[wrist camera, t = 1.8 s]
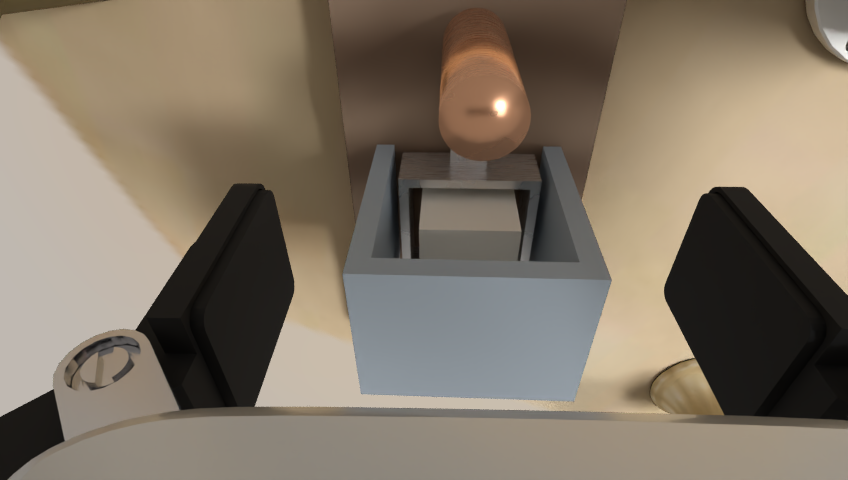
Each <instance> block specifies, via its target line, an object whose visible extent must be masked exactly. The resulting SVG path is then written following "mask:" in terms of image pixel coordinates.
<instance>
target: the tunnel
mask: <svg viewBox="0 0 848 480" xmlns="http://www.w3.org/2000/svg"><path fill="white" fill-rule="evenodd" d="M539 173H540V177H541V180H542V184H541V190H540V196H539V202H538V208H537V215H536V221H535V227H534V233H533V239H532V245H531V252H530V258H529V261H490V260H444V259H400V238H399V220H398V201H397V183H396V164H395V145H377V147H376V150H375V154H374V158H373V162H372V165H371V169H370V173H369V176H368V180H367V184H366V188H365V191H364V195H363V199H362V203H361V206H360V210H359V214H358V218H357V221H356V225H355V229H354V232H353V236H352V240H351V244H350V247H349V251H348V255H347V259H346V262H345V266H344V270H343V281H344V287H345V294H346V300H347V306H348V313H349V319H350V326H351V332H352V339H353V345H354V351H355V358H356V365H357V371H358V377H359V383H360V390H361V394H374V395H375V394H376V395H403V396H432V397H461V398H491V399H492V398H493V399H519V400H547V401H574V400H575V396H576V393H577V390H578V387H579V384H580V380H581V377H582V374H583V371H584V367H585V364H586V361H587V358H588V355H589V351H590V348H591V345H592V342H593V339H594V335H595V332H596V329H597V326H598V323H599V319H600V316H601V313H602V310H603V307H604V303H605V300H606V297H607V294H608V290H609V287H610V284H611V281H612V280H611V277H610V274H609V272H608V269H607V266H606V264H605V261H604V258H603V256H602V253H601V251H600V248H599V245H598V243H597V240H596V237H595V235H594V232H593V230H592V227H591V224H590V222H589V219H588V216H587V214H586V211H585V208H584V206H583V203H582V201H581V198H580V195H579V193H578V190H577V187H576V185H575V182H574V180H573V177H572V174H571V172H570V169H569V166H568V164H567V161H566V159H565V156H564V153H563V151H562V148H561V147H544V146H543V150H542V156H541V163H540V169H539Z"/></svg>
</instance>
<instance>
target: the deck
mask: <svg viewBox="0 0 848 480" xmlns="http://www.w3.org/2000/svg"><path fill="white" fill-rule="evenodd" d="M328 2H329V11H330V19H331V27H332V35H333V43H334V51H335V60H336V68H337V76H338V84H339V92H340V101H341V109H342V117H343V125H344V133H345V142H346V150H347V158H348V166H349V174H350V183H351V191H352V199H353V207H354V215H355V223H356V221H357V218H358V214H359V210H360V206H361V203H362V199H363V195H364V191H365V188H366V184H367V180H368V176H369V173H370V169H371V165H372V162H373V158H374V154H375V150H376V147H377V145H395V164H396V183H397V201H398V220H399V238H400V259H402V242H401V223H400V203H399V183H398V178H399V172H400V167H401V161H402V155H403V152H437V153H450V151H451V149H450V148H449V147H448V146H447V144H446V143H445V141H444V140H443V138H442V135H441V133H440V129H439V102H440V84H441V66H442V48H443V36H444V32H445V29H446V27H447V25H448V24H449V22H450V21H451V20H452V18H453V17H454V16H456V15H457V14H458V13H460V12H462V11H463V10H466V9H470V8H484V9H487V10H490V11H491V12H493V13H494V14H496V15H497V16H498V17H499V18H500V19H501V21H502V22H503V24H504V26H505V29H506V32H507V35H508V38H509V41H510V45H511V48H512V51H513V54H514V57H515V60H516V64H517V67H518V70H519V73H520V76H521V79H522V83H523V86H524V89H525V92H526V95H527V98H528V102H529V105H530V110H531V122H530V126H529V129H528V132H527V134H526V136H525V138H524V139H523V141H522V142H521V143H520V145H519V146H518V147H517V148H516V149H514V150H513V151H512V152H510V153H518V154H534V155H535V159H536V162H537V166H538V169H540V163H541V156H542V150H543V146H544V147H561V148H562V151H563V153H564V156H565V159H566V161H567V164H568V166H569V169H570V172H571V174H572V177H573V180H574V182H575V185H576V187H577V190H578V193H579V195H580V198H581V200H582V195H583V191H584V187H585V182H586V178H587V173H588V169H589V165H590V160H591V156H592V151H593V147H594V143H595V138H596V134H597V129H598V125H599V121H600V116H601V112H602V107H603V103H604V99H605V94H606V90H607V85H608V81H609V77H610V72H611V68H612V63H613V59H614V55H615V50H616V46H617V41H618V37H619V33H620V28H621V24H622V19H623V15H624V11H625V6H626V2H627V0H328ZM422 190H423V188H413V211H414V245H415V247H419V222H420V212H421V201H422ZM514 193H515V199H516V204H517V210H518V204H519V196H520V189H514Z"/></svg>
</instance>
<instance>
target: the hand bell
mask: <svg viewBox="0 0 848 480" xmlns="http://www.w3.org/2000/svg"><path fill="white" fill-rule="evenodd" d="M650 396H651V398H652V400H653V402H654V403H655V404H656V405H657V406H658V407H659V408H660V409H662V410H663V411H665V412H667V413H670V414H694V415H724V413H723V411H722V409H721V408H720V406H719V404H718V402H717V400H716V398H715V396H714V394H713V392H712V390H711V388H710V386H709V384H708V382H707V380H706V378H705V376H704V374H703V372H702V370H701V368H700V366H699V364H698V363H697V361H696V359H692V360H688V361H684V362H682V363H679V364H677V365H675V366H673V367H671V368H669V369H668V370H666V371H665V372H663V373H662V374H661V375H659V376H658V377H657V379H656V380H655V381H654V382H653V384H652V386H651V391H650Z"/></svg>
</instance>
